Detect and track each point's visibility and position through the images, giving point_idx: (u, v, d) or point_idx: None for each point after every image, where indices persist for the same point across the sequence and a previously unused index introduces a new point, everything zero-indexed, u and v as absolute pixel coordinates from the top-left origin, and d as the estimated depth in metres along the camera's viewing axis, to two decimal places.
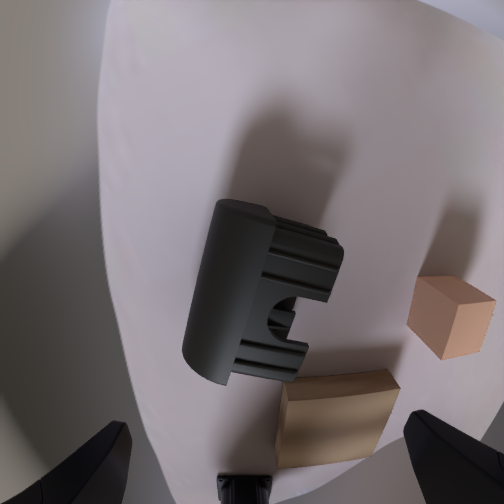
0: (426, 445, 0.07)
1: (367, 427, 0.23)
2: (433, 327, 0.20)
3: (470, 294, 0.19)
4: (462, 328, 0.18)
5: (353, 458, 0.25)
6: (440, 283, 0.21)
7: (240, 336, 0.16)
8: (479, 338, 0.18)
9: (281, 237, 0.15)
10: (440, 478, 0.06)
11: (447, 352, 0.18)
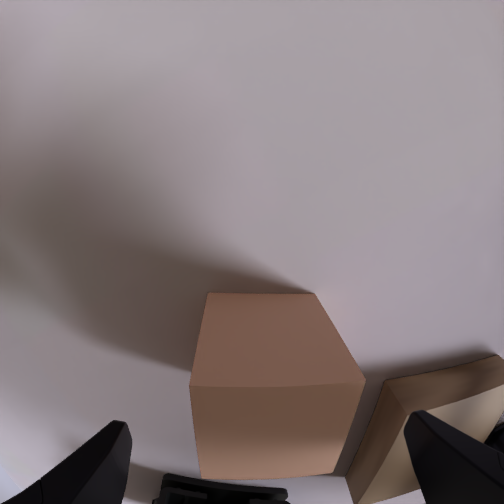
0: (426, 445, 0.07)
1: (458, 421, 0.12)
2: None
3: None
4: (263, 461, 0.08)
5: None
6: None
7: None
8: (316, 402, 0.07)
9: None
10: (440, 478, 0.06)
11: (317, 469, 0.08)
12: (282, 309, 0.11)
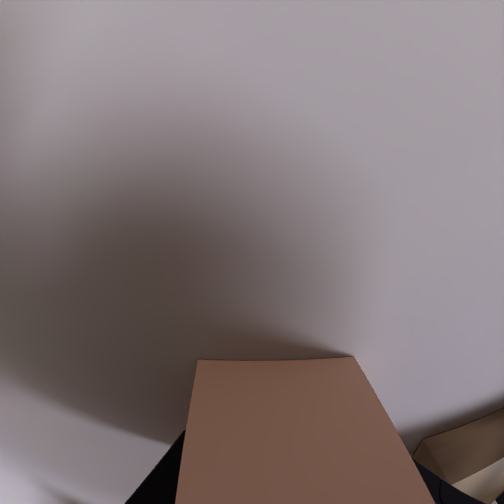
0: None
1: (497, 473, 0.08)
2: None
3: None
4: None
5: None
6: None
7: None
8: None
9: None
10: None
11: None
12: (312, 394, 0.07)
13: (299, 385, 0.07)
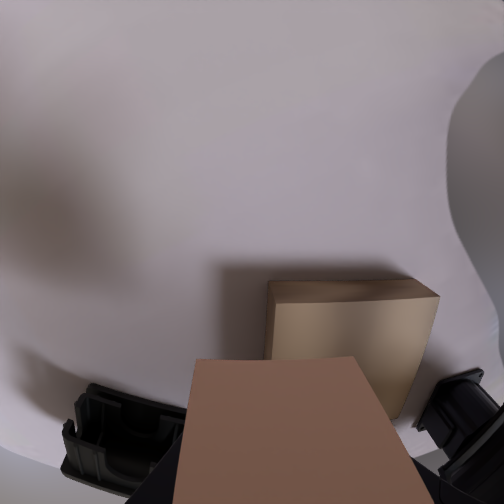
0: None
1: (356, 334, 0.16)
2: None
3: None
4: None
5: (428, 328, 0.16)
6: None
7: None
8: None
9: (71, 464, 0.14)
10: None
11: None
12: (311, 394, 0.07)
13: (298, 385, 0.07)
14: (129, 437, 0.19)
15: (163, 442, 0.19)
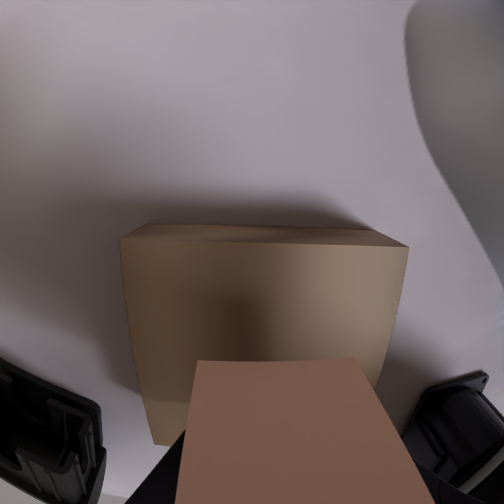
0: None
1: (257, 300, 0.10)
2: None
3: None
4: None
5: (393, 301, 0.11)
6: None
7: (26, 492, 0.09)
8: None
9: None
10: None
11: None
12: (312, 396, 0.07)
13: (299, 386, 0.07)
14: (28, 422, 0.13)
15: (59, 433, 0.14)
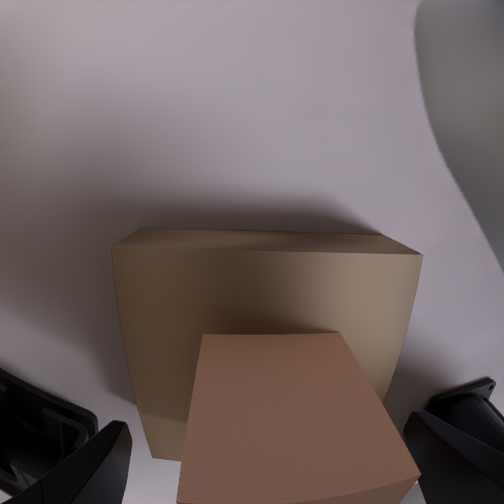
0: (426, 445, 0.07)
1: (261, 313, 0.09)
2: None
3: None
4: None
5: (405, 312, 0.10)
6: None
7: None
8: None
9: None
10: (440, 478, 0.06)
11: None
12: (302, 361, 0.08)
13: (290, 354, 0.08)
14: (24, 430, 0.13)
15: (55, 442, 0.13)
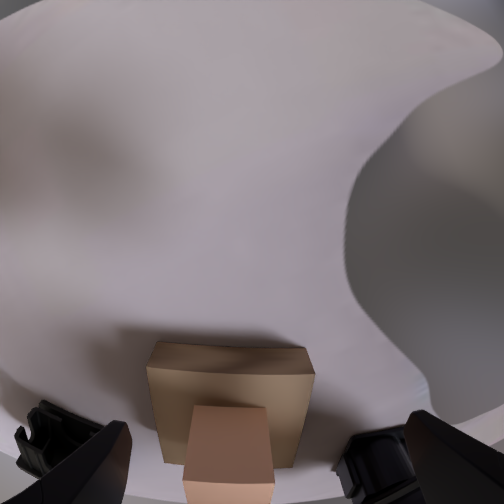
0: (426, 445, 0.07)
1: (223, 398, 0.17)
2: None
3: None
4: None
5: (305, 399, 0.17)
6: None
7: None
8: (248, 489, 0.12)
9: (23, 459, 0.16)
10: (440, 478, 0.06)
11: None
12: (240, 424, 0.16)
13: (236, 419, 0.16)
14: (71, 445, 0.20)
15: None
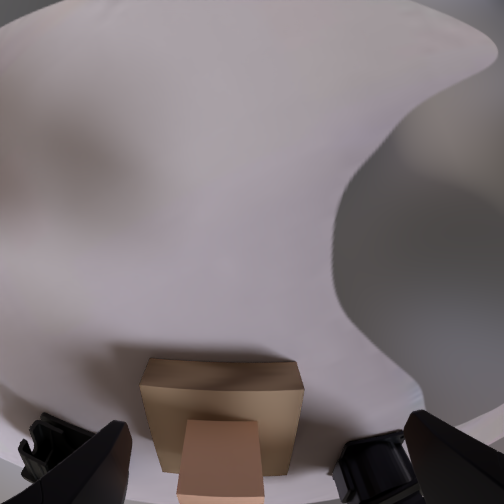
0: (426, 445, 0.07)
1: (215, 413, 0.17)
2: None
3: None
4: None
5: (296, 413, 0.17)
6: None
7: None
8: (239, 502, 0.12)
9: (28, 471, 0.16)
10: (440, 478, 0.06)
11: None
12: (232, 438, 0.16)
13: (228, 433, 0.16)
14: None
15: None
